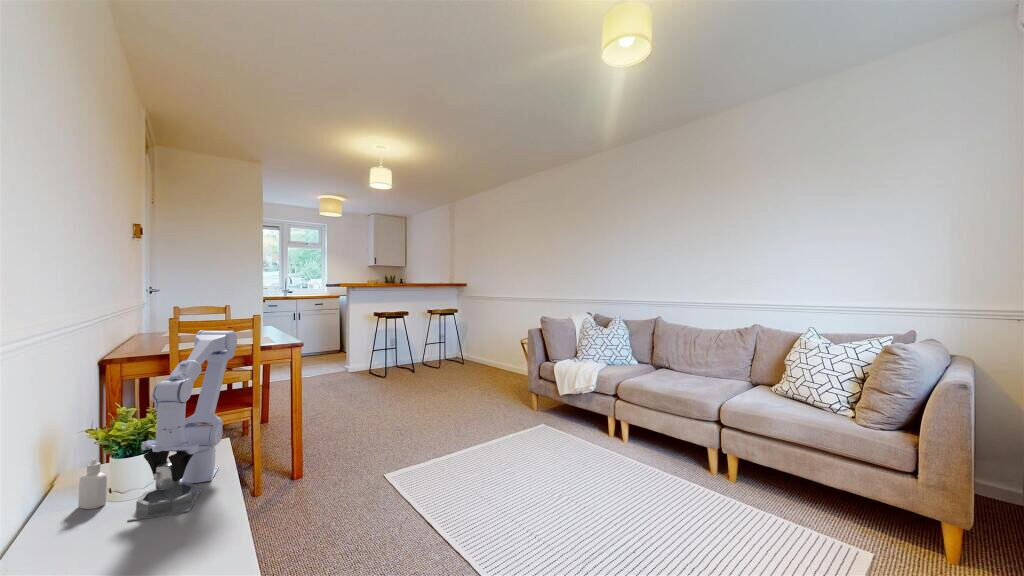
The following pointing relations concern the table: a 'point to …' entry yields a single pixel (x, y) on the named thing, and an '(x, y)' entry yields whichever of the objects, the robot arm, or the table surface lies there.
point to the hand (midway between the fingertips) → (168, 478)
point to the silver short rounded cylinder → (164, 476)
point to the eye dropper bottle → (92, 487)
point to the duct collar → (166, 501)
